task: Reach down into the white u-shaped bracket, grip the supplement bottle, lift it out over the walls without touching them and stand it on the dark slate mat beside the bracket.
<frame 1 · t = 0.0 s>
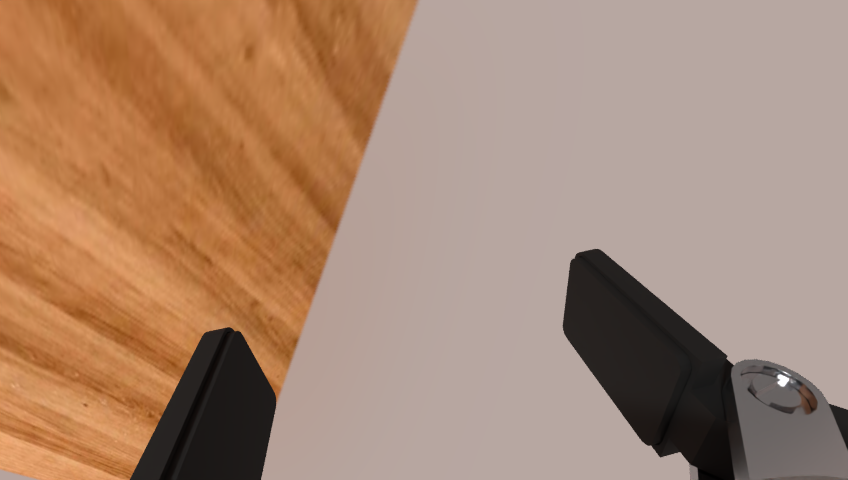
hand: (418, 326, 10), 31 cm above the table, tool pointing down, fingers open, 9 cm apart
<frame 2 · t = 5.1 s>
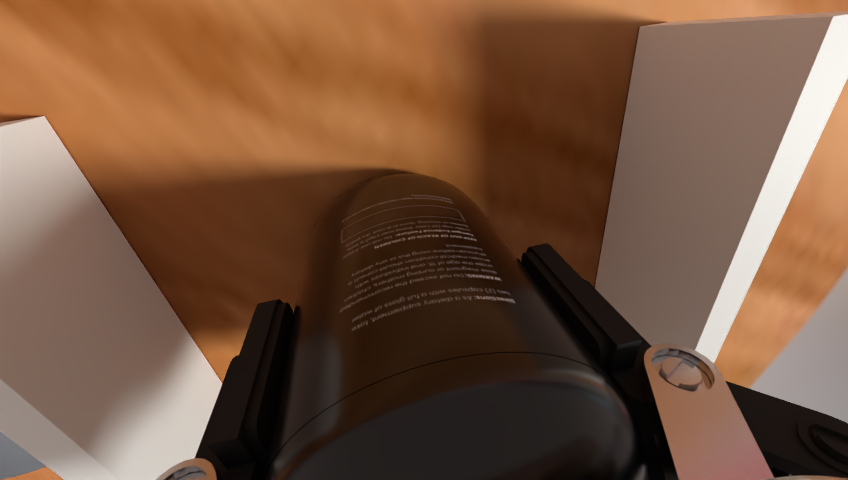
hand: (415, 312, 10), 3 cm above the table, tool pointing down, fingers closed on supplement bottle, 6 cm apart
white u-shaped bracket: (401, 255, 13), on the table
supplement bottle: (401, 252, 13), on the table, touching gripper
when the fingers open (6 cm above the table, at t = 11.9 s): supplement bottle drops 2 cm, resting on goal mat.
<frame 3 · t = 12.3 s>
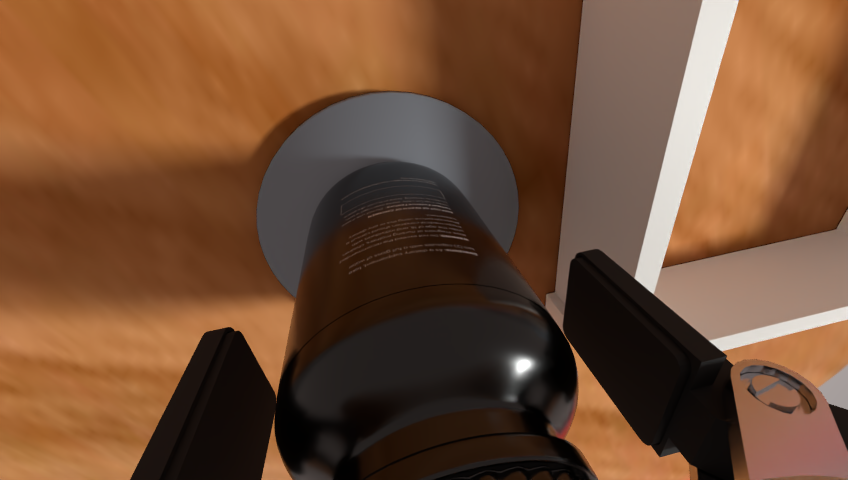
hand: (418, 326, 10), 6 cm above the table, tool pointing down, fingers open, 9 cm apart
white u-shaped bracket: (754, 136, 16), on the table
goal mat: (394, 225, 15), on the table
supplement bottle: (393, 233, 15), resting on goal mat
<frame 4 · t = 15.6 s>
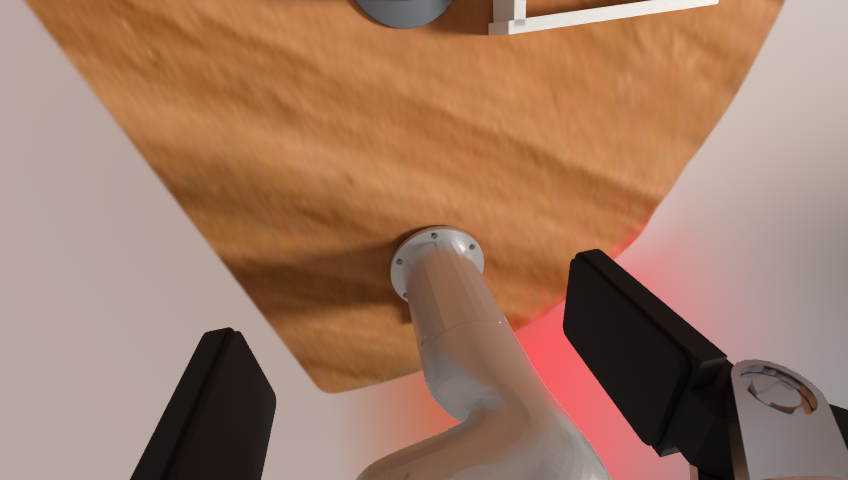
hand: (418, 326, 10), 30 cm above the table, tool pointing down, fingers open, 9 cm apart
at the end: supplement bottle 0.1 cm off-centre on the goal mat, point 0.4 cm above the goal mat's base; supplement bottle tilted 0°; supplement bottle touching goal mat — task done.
